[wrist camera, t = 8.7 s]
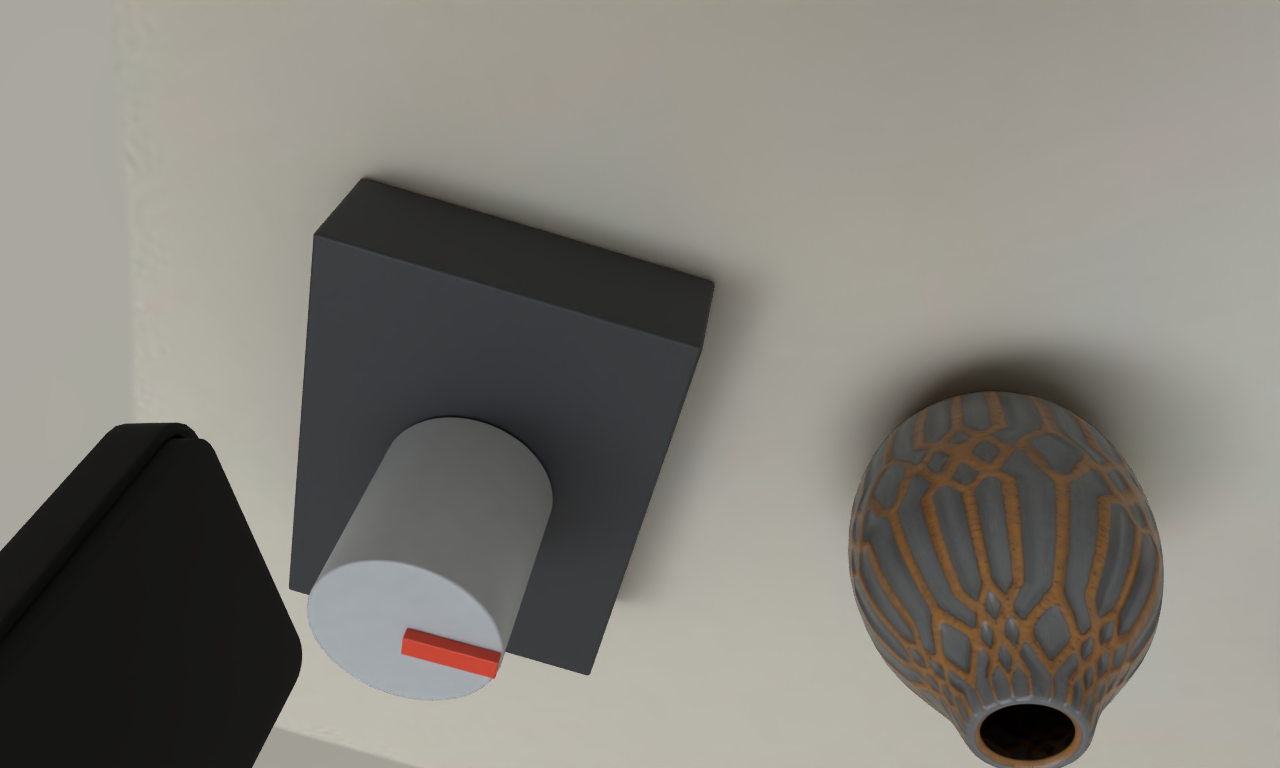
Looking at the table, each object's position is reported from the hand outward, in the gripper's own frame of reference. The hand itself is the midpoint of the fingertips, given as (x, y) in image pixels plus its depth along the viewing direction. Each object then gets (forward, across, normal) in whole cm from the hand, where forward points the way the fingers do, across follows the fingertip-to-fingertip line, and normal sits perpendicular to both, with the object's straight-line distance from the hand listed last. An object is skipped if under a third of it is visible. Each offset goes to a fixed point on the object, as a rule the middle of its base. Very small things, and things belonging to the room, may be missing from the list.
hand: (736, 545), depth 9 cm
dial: (+13, +9, +10) cm, 19 cm away
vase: (+16, -4, +12) cm, 21 cm away
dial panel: (+16, +9, +10) cm, 21 cm away
